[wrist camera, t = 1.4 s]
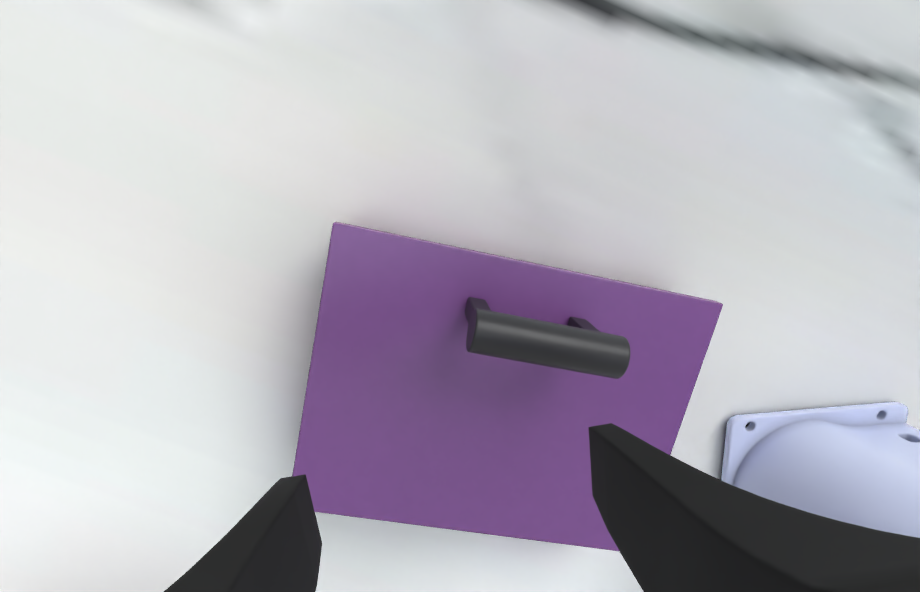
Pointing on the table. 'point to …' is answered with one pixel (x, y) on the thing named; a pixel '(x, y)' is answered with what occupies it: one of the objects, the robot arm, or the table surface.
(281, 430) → the table surface
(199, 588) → the robot arm
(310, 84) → the table surface
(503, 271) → the lid
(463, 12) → the table surface
